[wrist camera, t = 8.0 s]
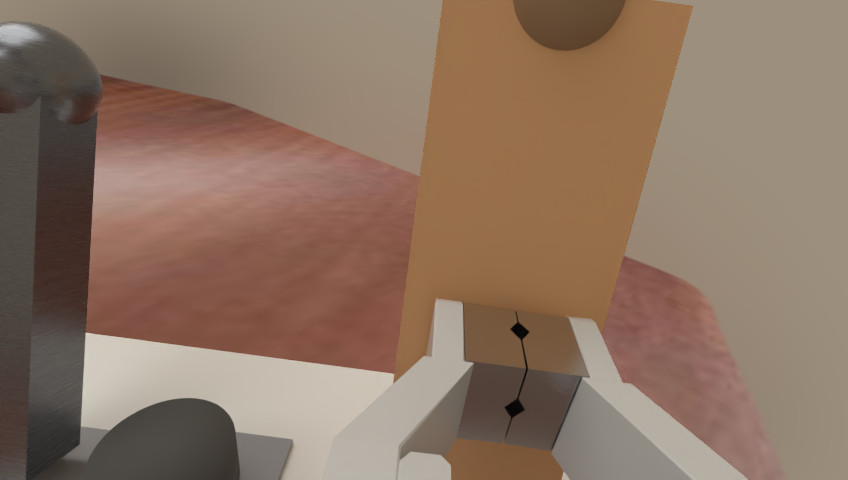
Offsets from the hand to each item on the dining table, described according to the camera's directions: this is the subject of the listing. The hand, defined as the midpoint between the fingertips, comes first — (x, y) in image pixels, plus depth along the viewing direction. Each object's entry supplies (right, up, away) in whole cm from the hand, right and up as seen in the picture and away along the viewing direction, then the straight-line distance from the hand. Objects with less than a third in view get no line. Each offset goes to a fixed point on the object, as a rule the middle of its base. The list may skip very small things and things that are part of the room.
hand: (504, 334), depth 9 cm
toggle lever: (-12, -4, +3) cm, 13 cm away
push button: (-8, -5, +3) cm, 10 cm away
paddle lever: (-1, -6, +3) cm, 7 cm away
